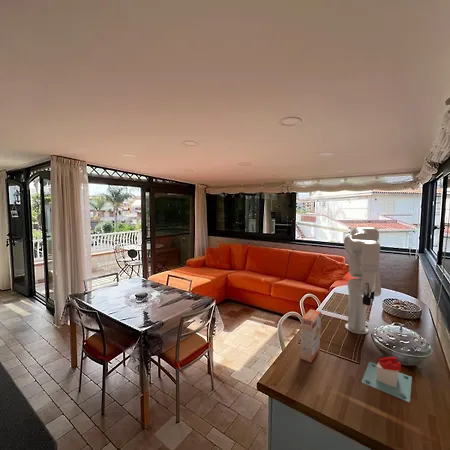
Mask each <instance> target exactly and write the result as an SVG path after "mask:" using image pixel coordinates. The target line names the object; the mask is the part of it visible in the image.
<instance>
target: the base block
mask: <svg viewBox="0 0 450 450" xmlns="http://www.w3.org/2000/svg"><path fill="white" fill-rule="evenodd" d="M376 364H377V368H376V380H377V381H380V382H382V383H385V384H387V385H390V386H392V387H395V388H396V387H397V382H398V372H399V371H396V370H388V369H383V368H382V366H381V365H380V363H379V362H377V363H376Z"/></svg>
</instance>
